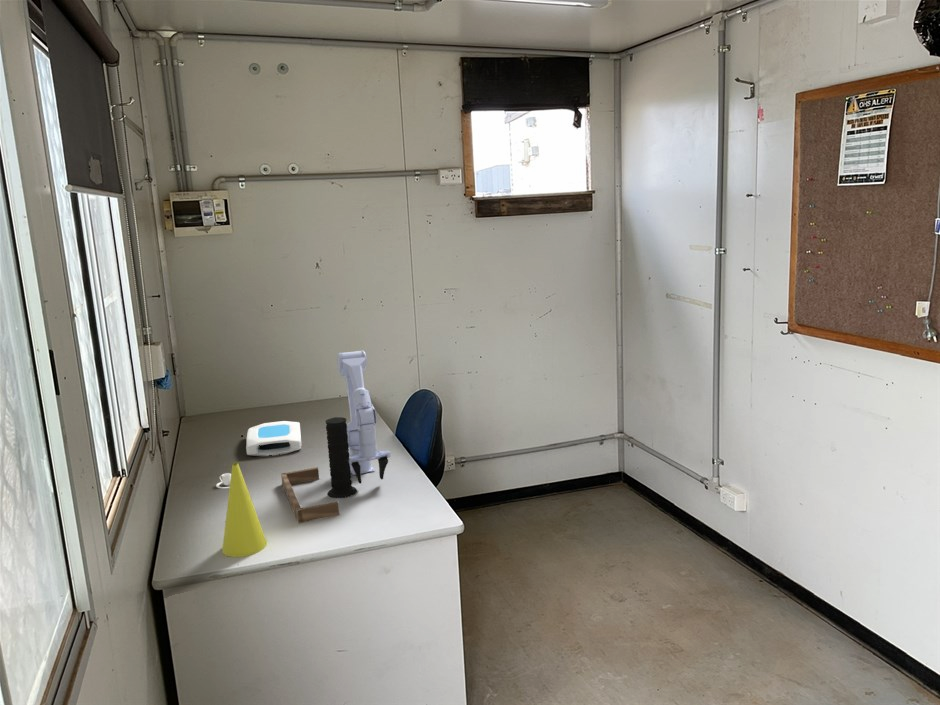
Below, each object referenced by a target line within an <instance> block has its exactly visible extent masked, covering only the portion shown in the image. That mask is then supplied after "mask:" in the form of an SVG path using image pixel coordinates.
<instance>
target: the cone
mask: <svg viewBox="0 0 940 705" xmlns="http://www.w3.org/2000/svg"><path fill="white" fill-rule="evenodd" d="M231 466H232V467H231V472H230V473H231V481H230V485H229V487H230V488H228V489H229V492H228V498H227V499H228V500H227V507H226V515H225V516H226V518H225V523H224V524H225V525H224V533H223V534H224V535H223V541H222V548H221V551H222V554H223V555H225V556H226V557H227V556H228V557H231V558H240V557H248V556H252V555H254V554H257V553H259V552H261V551H262V550H264V549H265V548H266V547H267V546H268V545H267V544H268V542H267V539H266V536H265V534H264V531H263V528H262V525H261V523H260V520H259V517H258V514H257V511H256V509H255V506H254V503H253V500H252V498H251V495H250V492H249V489H248V486H247V484H246V481H245V478H244V476H243V472H242V470H241V468H240V465H239V462H238V461H236V462H234V463H233V464H231Z"/></svg>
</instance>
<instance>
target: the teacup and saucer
mask: <svg viewBox="0 0 940 705" xmlns="http://www.w3.org/2000/svg"><path fill="white" fill-rule="evenodd" d="M219 480H220V482H217V483H216V485H215V487H216V488H218V489H230V481H231V472H225V473H222V474H221V475H220V476H219ZM222 484H223V485H224V486H225V487H223V486H220V485H222ZM226 486H227V487H226Z"/></svg>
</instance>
